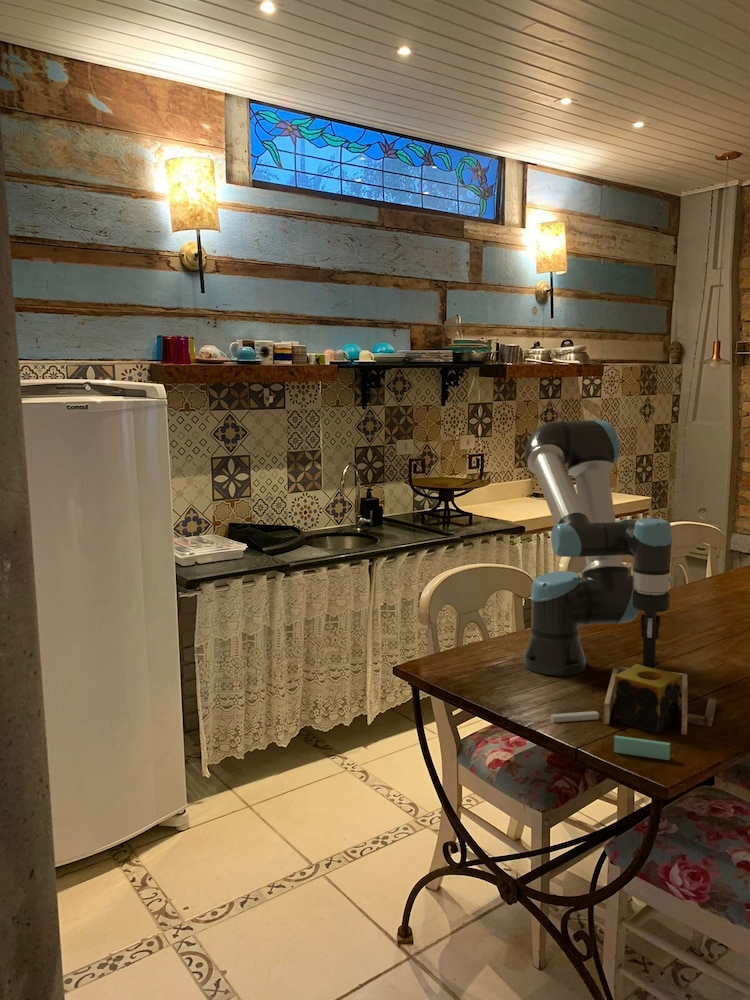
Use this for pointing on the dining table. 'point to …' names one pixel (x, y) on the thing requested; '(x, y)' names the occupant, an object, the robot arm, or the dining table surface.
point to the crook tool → (705, 719)
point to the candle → (646, 698)
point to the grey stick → (575, 716)
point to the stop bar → (642, 747)
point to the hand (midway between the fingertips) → (648, 694)
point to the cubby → (612, 693)
